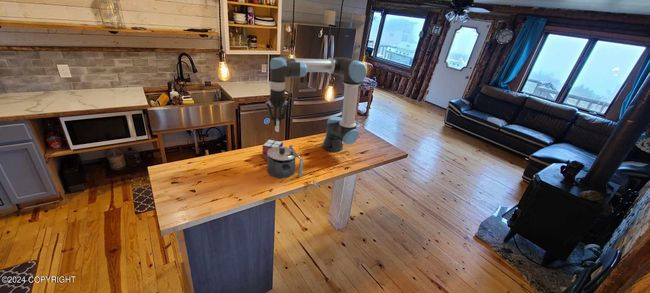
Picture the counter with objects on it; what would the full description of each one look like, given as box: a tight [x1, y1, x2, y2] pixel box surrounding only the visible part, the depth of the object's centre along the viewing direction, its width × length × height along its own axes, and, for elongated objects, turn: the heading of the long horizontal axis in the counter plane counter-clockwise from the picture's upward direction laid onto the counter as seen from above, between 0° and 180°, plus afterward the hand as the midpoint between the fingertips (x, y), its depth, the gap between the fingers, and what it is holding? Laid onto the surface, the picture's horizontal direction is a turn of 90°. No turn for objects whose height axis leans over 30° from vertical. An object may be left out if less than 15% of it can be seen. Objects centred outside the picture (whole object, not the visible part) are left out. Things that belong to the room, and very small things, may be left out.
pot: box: [266, 144, 304, 179], centre depth 161 cm, size 18×20×12 cm
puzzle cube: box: [262, 139, 284, 161], centre depth 175 cm, size 10×10×10 cm
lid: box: [267, 146, 302, 161], centre depth 157 cm, size 18×17×4 cm
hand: (277, 130), depth 150 cm, fingers closed
